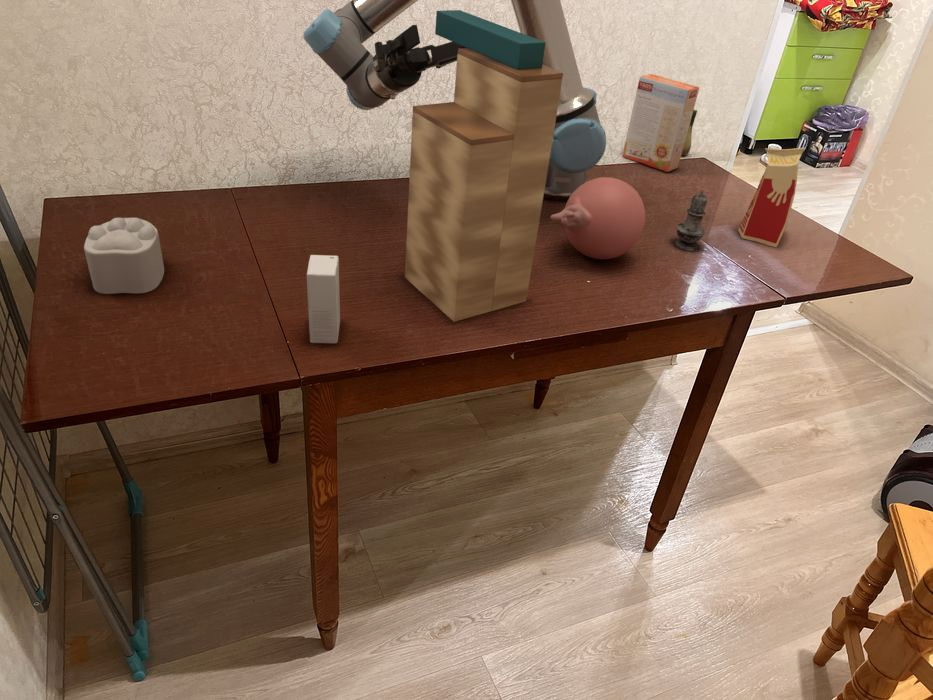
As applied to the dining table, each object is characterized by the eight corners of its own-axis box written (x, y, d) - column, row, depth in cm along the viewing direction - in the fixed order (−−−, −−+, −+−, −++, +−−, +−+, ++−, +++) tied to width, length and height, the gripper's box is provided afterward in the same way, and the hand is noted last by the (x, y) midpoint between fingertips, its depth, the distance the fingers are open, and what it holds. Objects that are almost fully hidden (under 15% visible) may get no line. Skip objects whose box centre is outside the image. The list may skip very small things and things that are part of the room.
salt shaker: (701, 253, 145) (719, 198, 138) (672, 248, 145) (688, 193, 138) (699, 241, 149) (716, 187, 142) (671, 236, 150) (686, 182, 143)
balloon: (523, 244, 141) (534, 169, 132) (607, 233, 148) (623, 162, 139) (561, 281, 129) (576, 203, 121) (650, 268, 137) (671, 193, 128)
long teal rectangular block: (434, 34, 114) (436, 10, 112) (458, 33, 116) (460, 10, 114) (517, 70, 100) (520, 43, 98) (542, 68, 102) (545, 42, 100)
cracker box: (678, 168, 185) (701, 86, 173) (667, 173, 181) (689, 89, 169) (633, 152, 192) (651, 72, 180) (621, 156, 189) (639, 75, 177)
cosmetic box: (312, 321, 111) (310, 253, 105) (340, 322, 112) (339, 254, 105) (308, 343, 106) (305, 273, 100) (337, 344, 107) (336, 275, 100)
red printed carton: (782, 232, 157) (816, 144, 146) (778, 248, 150) (813, 156, 139) (740, 222, 160) (770, 134, 148) (734, 237, 153) (765, 146, 141)
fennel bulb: (683, 150, 197) (695, 107, 191) (693, 157, 194) (705, 113, 187) (665, 151, 196) (677, 107, 189) (675, 157, 192) (687, 113, 185)
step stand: (404, 277, 125) (415, 50, 104) (474, 260, 133) (497, 45, 111) (453, 322, 115) (477, 80, 93) (526, 301, 123) (563, 72, 101)
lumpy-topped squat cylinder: (87, 294, 112) (75, 244, 107) (105, 255, 122) (95, 208, 117) (157, 293, 114) (148, 244, 109) (169, 254, 124) (162, 209, 119)
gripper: (455, 87, 138) (519, 52, 120) (338, 97, 126) (389, 60, 108) (447, 47, 137) (511, 6, 119) (328, 53, 125) (378, 9, 107)
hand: (453, 32), depth 113 cm, fingers open, 13 cm apart
